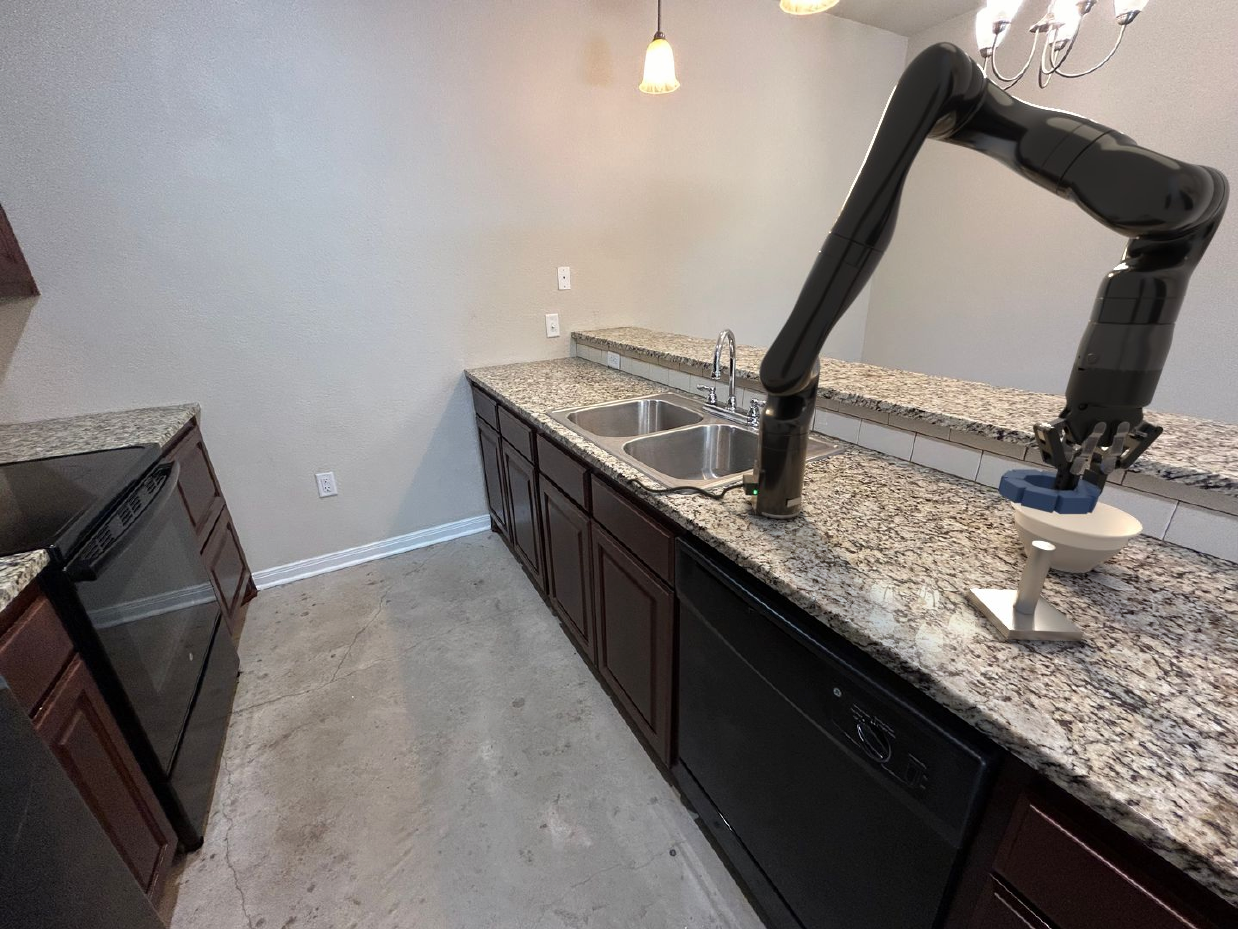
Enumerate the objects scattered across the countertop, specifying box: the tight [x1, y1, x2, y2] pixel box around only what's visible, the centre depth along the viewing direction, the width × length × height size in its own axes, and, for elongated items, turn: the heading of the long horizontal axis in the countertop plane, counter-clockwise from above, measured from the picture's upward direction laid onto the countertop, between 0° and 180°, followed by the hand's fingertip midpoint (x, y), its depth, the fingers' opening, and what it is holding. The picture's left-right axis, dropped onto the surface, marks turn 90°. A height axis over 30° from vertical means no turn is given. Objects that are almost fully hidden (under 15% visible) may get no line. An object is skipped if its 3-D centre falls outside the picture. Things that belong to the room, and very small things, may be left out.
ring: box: [997, 468, 1101, 514], centre depth 64 cm, size 9×9×2 cm
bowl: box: [1010, 501, 1144, 574], centre depth 81 cm, size 16×16×9 cm
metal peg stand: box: [967, 541, 1085, 642], centre depth 67 cm, size 9×9×12 cm
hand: (1074, 497), depth 64 cm, fingers closed on ring, 2 cm apart
